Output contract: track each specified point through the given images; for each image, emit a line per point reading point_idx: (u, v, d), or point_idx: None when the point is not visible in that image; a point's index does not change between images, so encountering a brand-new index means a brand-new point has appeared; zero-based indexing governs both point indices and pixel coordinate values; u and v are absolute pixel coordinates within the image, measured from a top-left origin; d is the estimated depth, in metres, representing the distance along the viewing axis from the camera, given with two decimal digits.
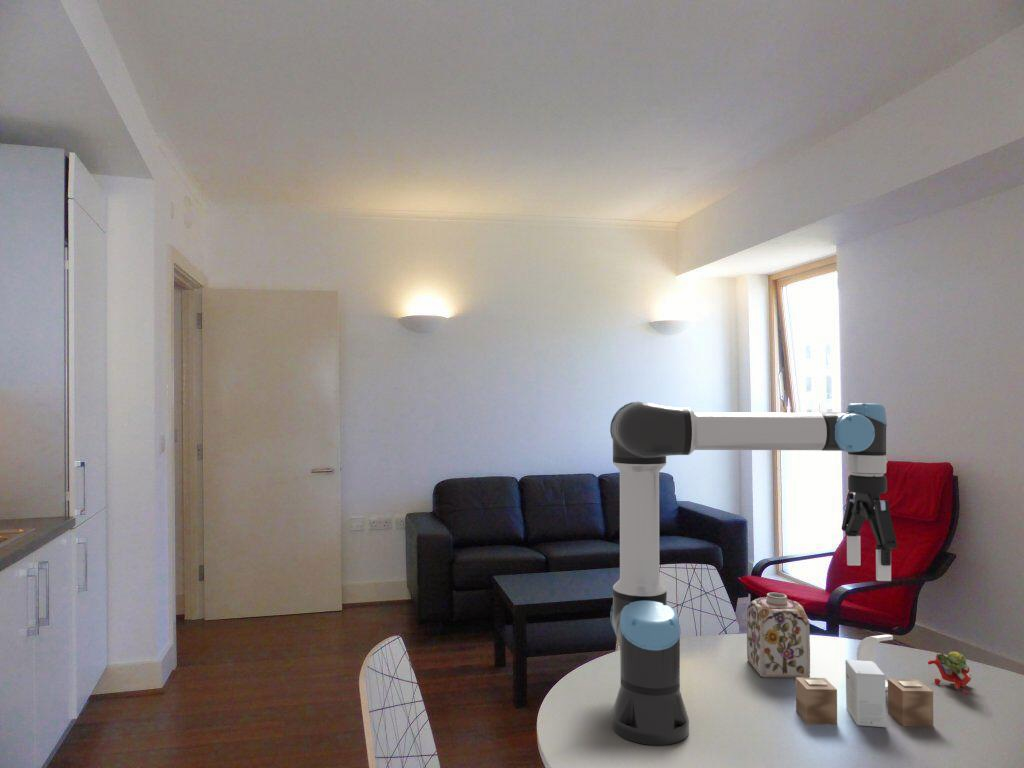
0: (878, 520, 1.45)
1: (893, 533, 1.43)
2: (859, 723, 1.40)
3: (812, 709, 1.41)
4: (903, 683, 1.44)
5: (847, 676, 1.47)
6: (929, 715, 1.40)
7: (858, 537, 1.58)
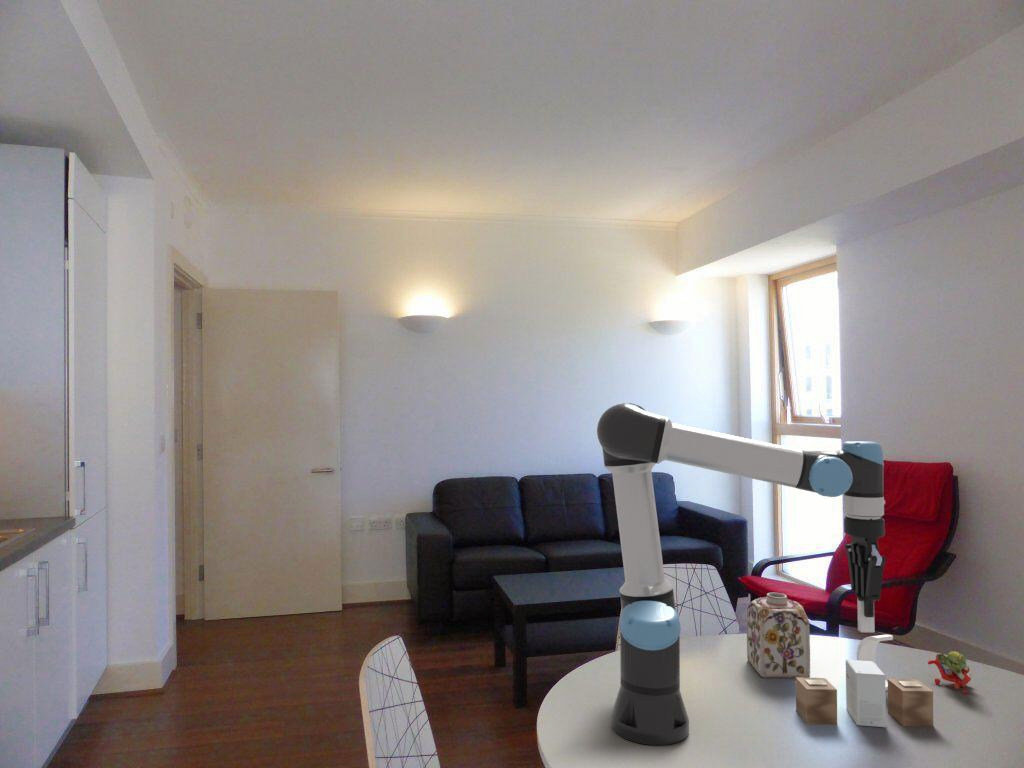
0: (869, 574, 1.40)
1: (880, 588, 1.40)
2: (859, 723, 1.40)
3: (812, 709, 1.41)
4: (903, 683, 1.44)
5: (847, 676, 1.47)
6: (929, 715, 1.40)
7: None
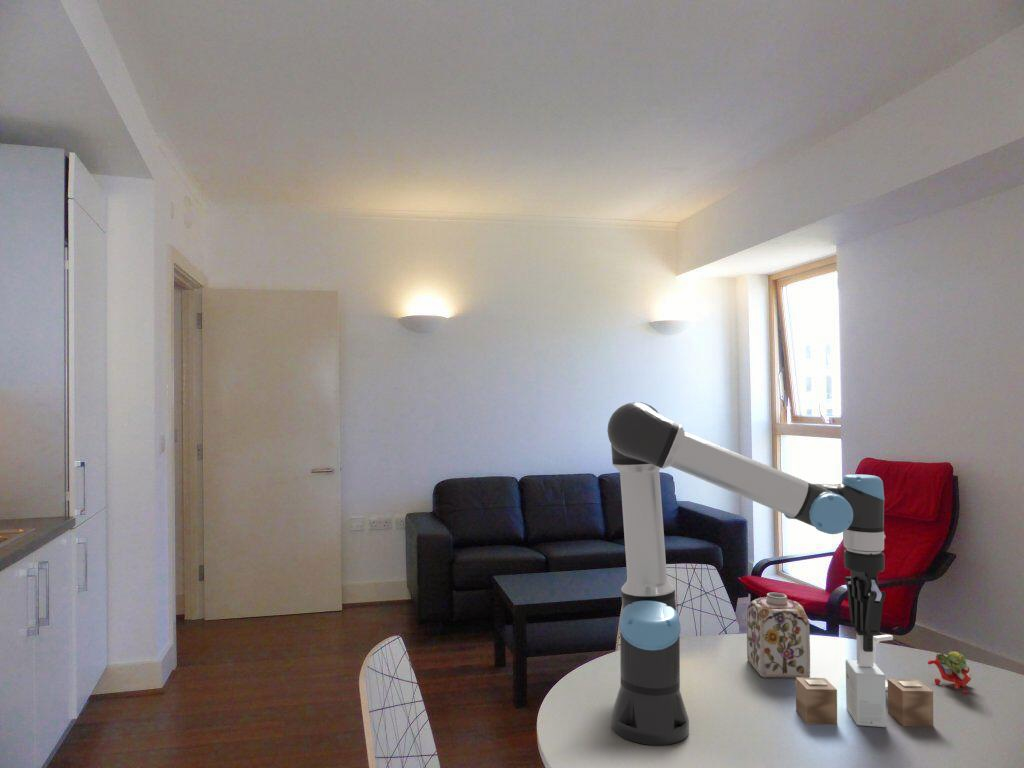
0: (868, 609, 1.40)
1: (879, 623, 1.40)
2: (859, 723, 1.40)
3: (812, 709, 1.41)
4: (903, 683, 1.44)
5: (847, 676, 1.47)
6: (929, 715, 1.40)
7: None
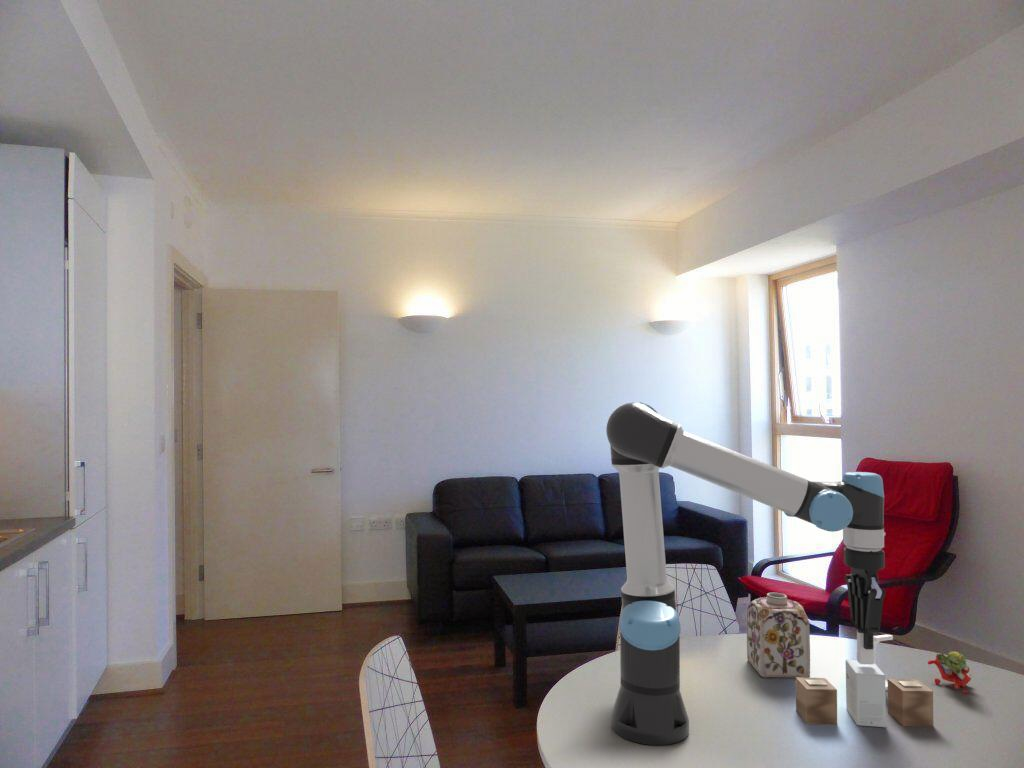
0: (868, 606, 1.40)
1: (879, 620, 1.40)
2: (859, 723, 1.40)
3: (812, 709, 1.41)
4: (903, 683, 1.44)
5: (847, 676, 1.47)
6: (929, 715, 1.40)
7: None
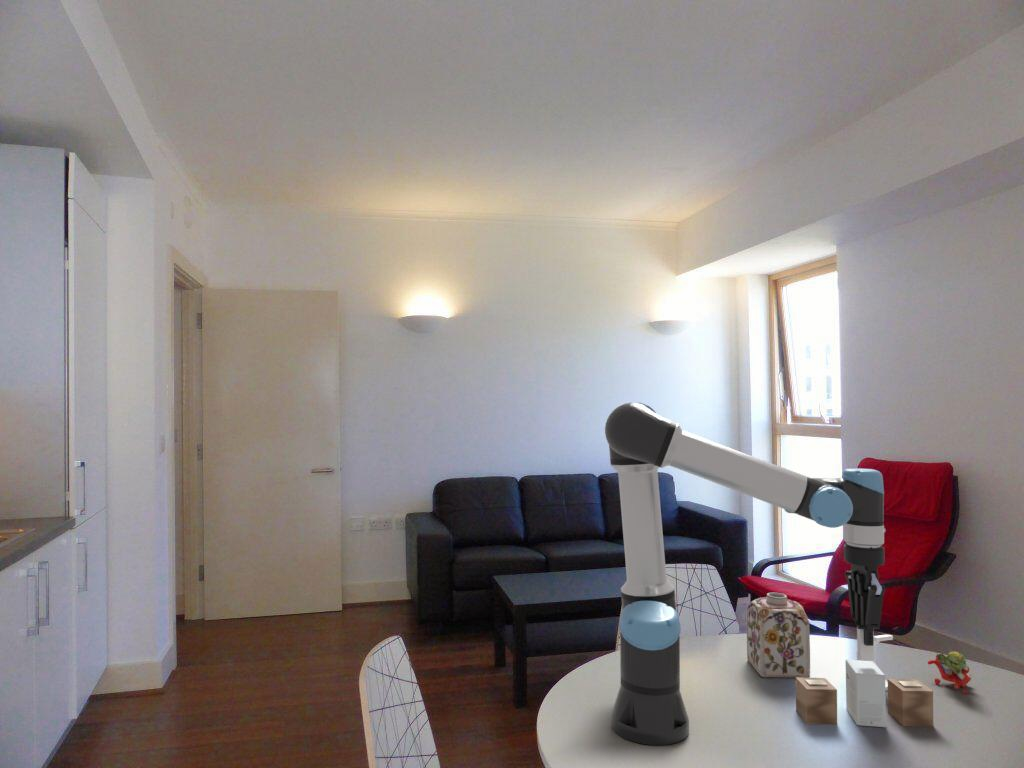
0: (869, 602, 1.40)
1: (879, 617, 1.40)
2: (859, 723, 1.40)
3: (812, 709, 1.41)
4: (903, 683, 1.44)
5: (847, 676, 1.47)
6: (929, 715, 1.40)
7: None
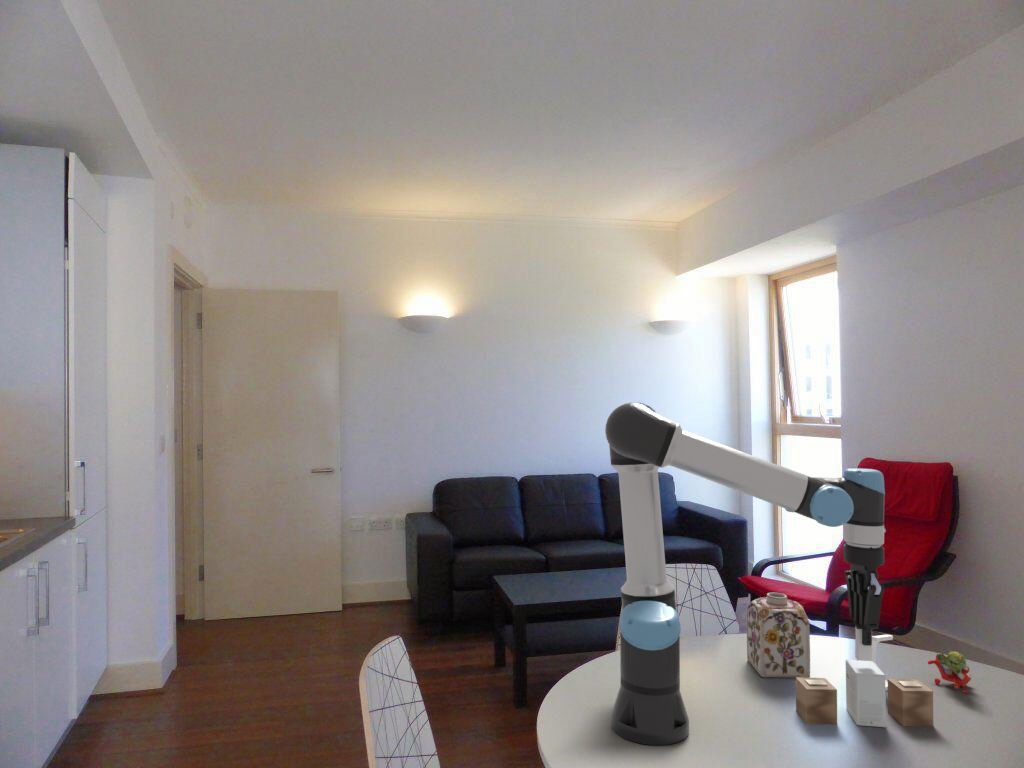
0: (868, 602, 1.40)
1: (878, 617, 1.40)
2: (859, 723, 1.40)
3: (812, 709, 1.41)
4: (903, 683, 1.44)
5: (847, 676, 1.47)
6: (929, 715, 1.40)
7: None
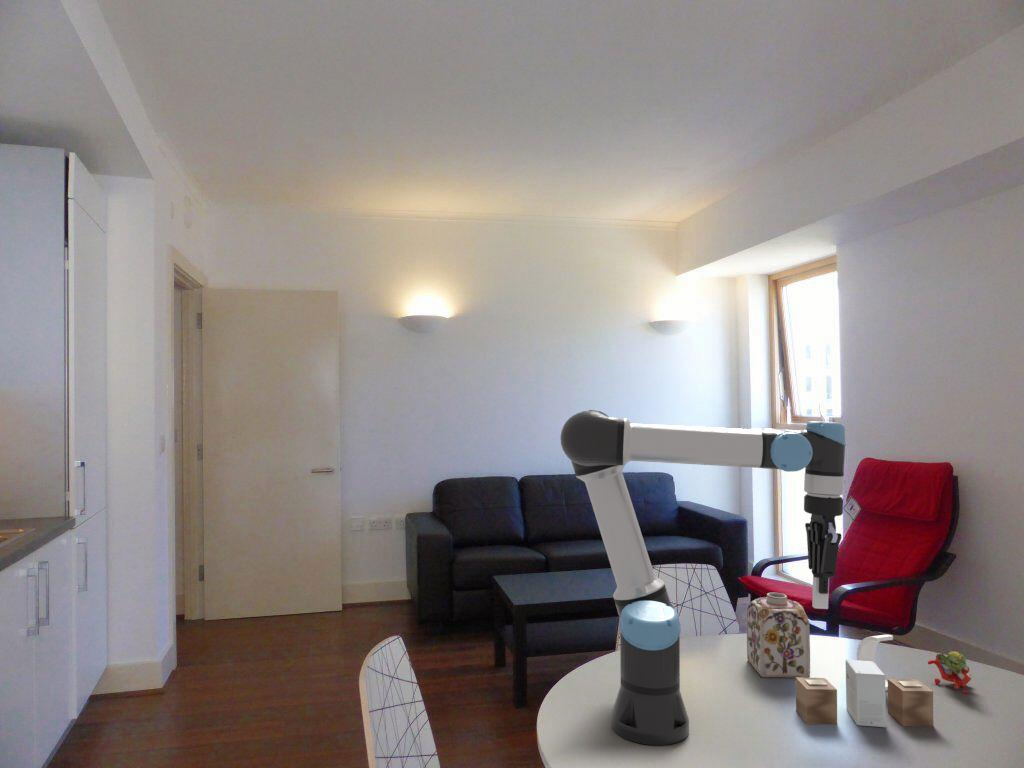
0: (824, 550, 1.42)
1: (834, 565, 1.43)
2: (859, 723, 1.40)
3: (812, 709, 1.41)
4: (903, 683, 1.44)
5: (847, 676, 1.47)
6: (929, 715, 1.40)
7: None
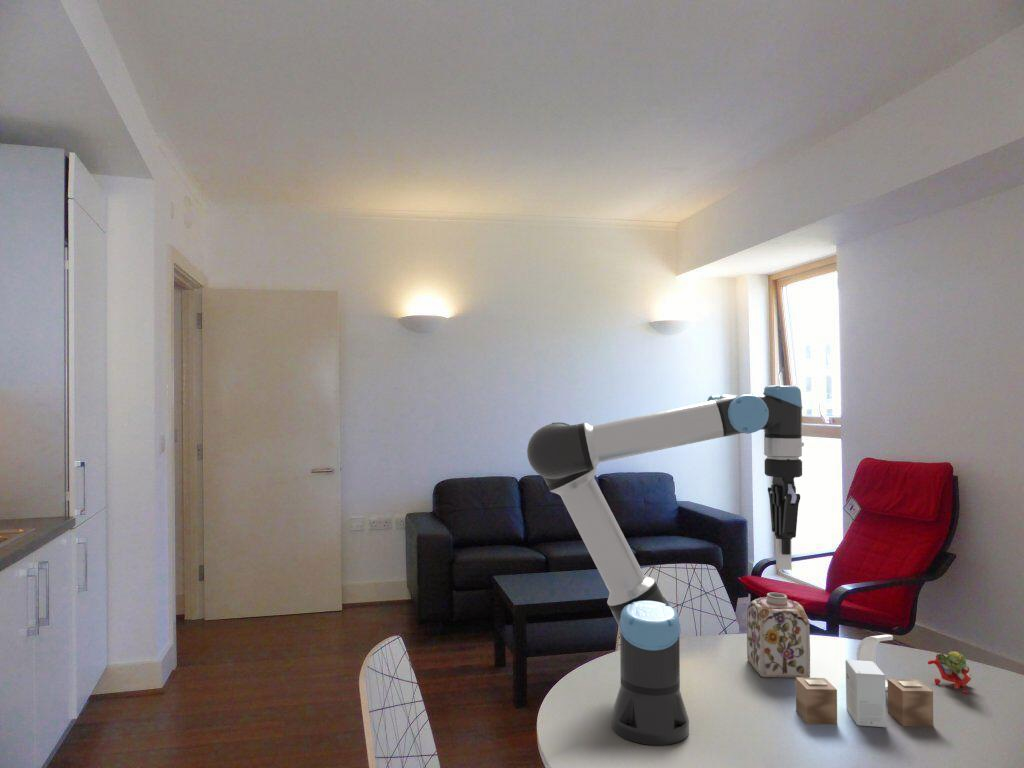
0: (785, 511, 1.45)
1: (795, 525, 1.45)
2: (859, 723, 1.40)
3: (812, 709, 1.41)
4: (903, 683, 1.44)
5: (847, 676, 1.47)
6: (929, 715, 1.40)
7: None
